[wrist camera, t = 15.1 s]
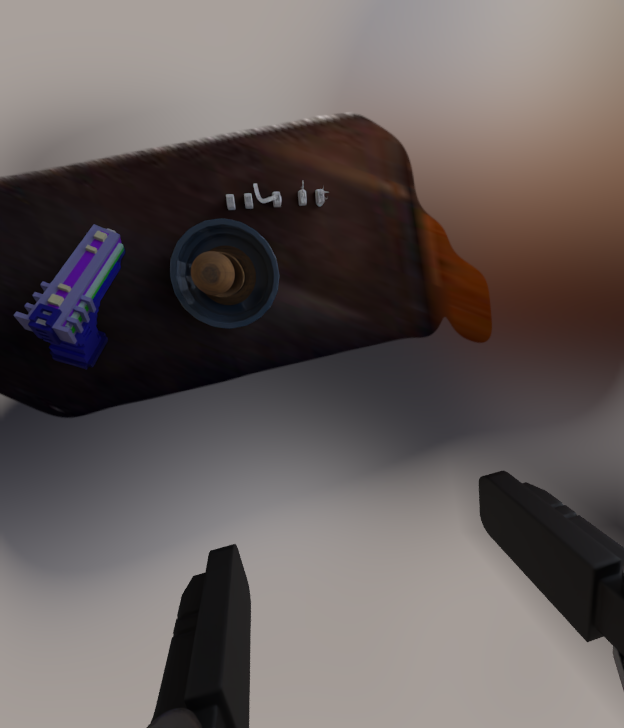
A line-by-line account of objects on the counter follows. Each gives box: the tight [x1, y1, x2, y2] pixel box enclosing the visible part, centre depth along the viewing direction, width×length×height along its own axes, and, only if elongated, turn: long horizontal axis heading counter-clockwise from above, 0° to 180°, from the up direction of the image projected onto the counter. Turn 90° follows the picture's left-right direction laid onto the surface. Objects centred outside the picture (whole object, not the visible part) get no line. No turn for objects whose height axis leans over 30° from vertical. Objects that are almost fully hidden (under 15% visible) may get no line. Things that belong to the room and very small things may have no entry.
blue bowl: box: [170, 218, 279, 329], centre depth 37 cm, size 11×11×6 cm
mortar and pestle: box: [191, 246, 256, 305], centre depth 30 cm, size 7×6×18 cm
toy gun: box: [14, 224, 125, 369], centre depth 35 cm, size 4×13×10 cm
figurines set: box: [226, 181, 327, 210], centre depth 37 cm, size 12×3×3 cm, turn 95°
